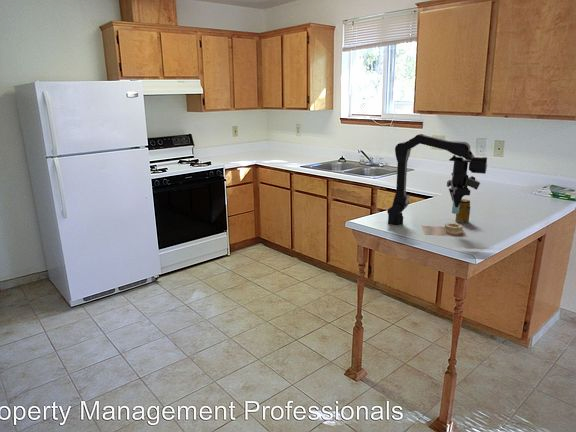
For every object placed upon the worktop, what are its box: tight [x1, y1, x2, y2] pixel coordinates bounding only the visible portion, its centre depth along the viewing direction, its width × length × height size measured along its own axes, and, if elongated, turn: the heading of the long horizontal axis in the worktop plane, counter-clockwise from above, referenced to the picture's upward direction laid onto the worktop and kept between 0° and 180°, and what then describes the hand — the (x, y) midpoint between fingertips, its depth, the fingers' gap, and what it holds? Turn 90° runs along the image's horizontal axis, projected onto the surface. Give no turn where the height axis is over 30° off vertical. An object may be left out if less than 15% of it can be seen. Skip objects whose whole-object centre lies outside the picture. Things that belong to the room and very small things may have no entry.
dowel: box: [451, 200, 460, 215], centre depth 189 cm, size 3×3×10 cm
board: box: [421, 225, 468, 238], centre depth 195 cm, size 18×13×1 cm
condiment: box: [455, 198, 471, 225], centre depth 206 cm, size 7×8×12 cm
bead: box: [444, 222, 464, 234], centre depth 193 cm, size 7×7×3 cm
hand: (455, 206), depth 190 cm, fingers closed on dowel, 3 cm apart
